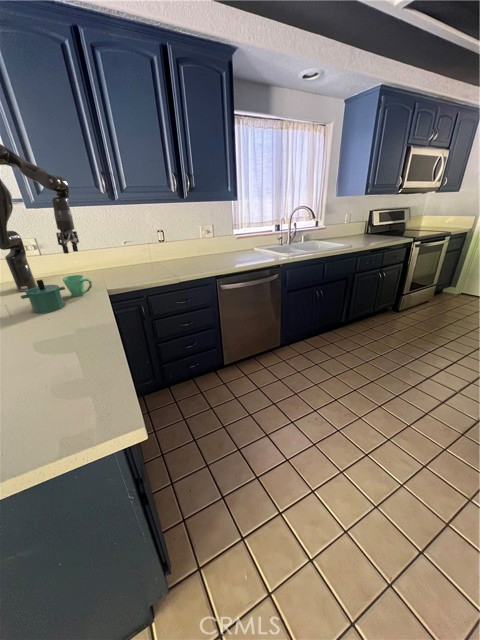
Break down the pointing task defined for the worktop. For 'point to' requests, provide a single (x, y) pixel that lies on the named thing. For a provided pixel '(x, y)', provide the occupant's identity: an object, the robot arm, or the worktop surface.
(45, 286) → the pot lid
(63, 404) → the worktop surface
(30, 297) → the pot
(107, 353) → the worktop surface
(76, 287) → the mug
